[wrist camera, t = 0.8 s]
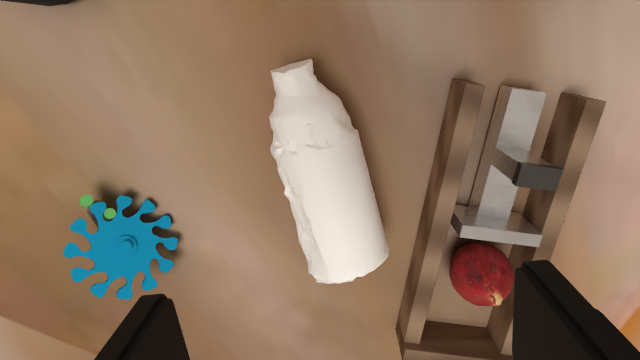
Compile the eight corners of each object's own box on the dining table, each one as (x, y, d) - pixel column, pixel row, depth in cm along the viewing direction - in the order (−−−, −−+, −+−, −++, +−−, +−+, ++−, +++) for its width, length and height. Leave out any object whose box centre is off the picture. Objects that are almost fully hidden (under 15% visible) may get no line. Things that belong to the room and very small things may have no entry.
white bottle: (337, 49, 37) (339, 51, 29) (384, 231, 42) (395, 272, 35) (254, 73, 38) (235, 81, 30) (310, 249, 43) (306, 292, 36)
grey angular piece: (477, 82, 37) (515, 93, 29) (556, 92, 37) (613, 106, 29) (445, 214, 41) (470, 254, 34) (515, 223, 41) (555, 264, 34)
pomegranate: (430, 250, 43) (451, 295, 35) (477, 219, 42) (509, 259, 34) (460, 287, 44) (486, 338, 37) (507, 258, 43) (544, 305, 35)
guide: (452, 78, 37) (469, 84, 32) (578, 95, 37) (614, 103, 33) (395, 328, 46) (402, 361, 42) (496, 341, 46) (515, 375, 42)
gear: (198, 259, 42) (103, 324, 37) (182, 260, 47) (97, 317, 42) (139, 167, 41) (32, 220, 35) (130, 177, 46) (34, 225, 40)
